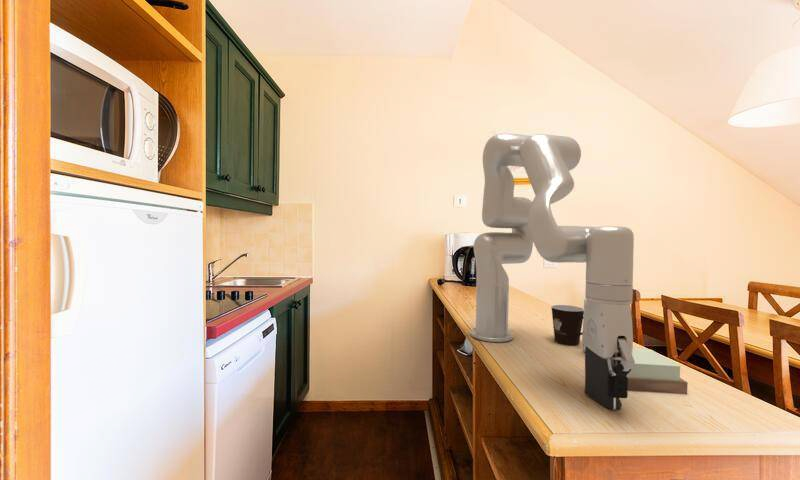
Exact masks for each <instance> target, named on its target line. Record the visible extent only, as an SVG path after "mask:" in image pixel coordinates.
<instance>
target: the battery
mask: <svg viewBox="0 0 800 480" xmlns="http://www.w3.org/2000/svg"><path fill="white" fill-rule="evenodd" d="M612 357H621V355H620V354H618V353H614V354H613V356H612ZM620 363H621V362H620V361H614V366H615V367H616V366H617V364H620ZM607 374H610V372H609V367H608V362H607V359H603V358H601V357H599V356H598V355H597V354H595V353H594V352H593V351H591V350H590V349H589V348H588V347H586V346H585V352H584V394H585V395H587V396H588V397H589V398H591V399H592V400H594V401H596V402H597V403H599V404H600V405H602V406H603V407H606V408H607V409H609V410H616V409H617V410H618V409H621V408H622V407H623V406H622V405H623V404H622V401H621V400H620V399H621V398H610V397H608V396H607Z"/></svg>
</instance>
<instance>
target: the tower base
mask: <svg viewBox="0 0 800 480" xmlns="http://www.w3.org/2000/svg"><path fill="white" fill-rule="evenodd" d="M688 385H689V384H688V382H687V381H686V380H684V379H683V378H681V377H680V381H669V380H654V379H639V378H628V391H629V392H642V393H643V392H645V393H659V394H660V393H661V394H666V393H667V394H678V395H679V394H681V395H688Z"/></svg>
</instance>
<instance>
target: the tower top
mask: <svg viewBox="0 0 800 480" xmlns="http://www.w3.org/2000/svg"><path fill="white" fill-rule="evenodd" d="M632 356H633V358H634V361H635V364H634V365H633V367H632V368H631V371H630V372H629V374H630V375H629V377H628V378H639V379H654V380H669V381H680V378H681V366H680V365H678V364H676V363H675V362H674V361H672V360H670V359H668V358H667V357H665V356H663V355H661V354H660V353H658V352H656V351H655V350H653V349H651V348H649V349H645V348H633V350H632Z"/></svg>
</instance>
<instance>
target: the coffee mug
mask: <svg viewBox="0 0 800 480" xmlns="http://www.w3.org/2000/svg"><path fill="white" fill-rule="evenodd" d="M550 307H551V314H552V315H551V316H552V317H551V319H552V324H553V336H554V342H555V343H557V344H559V345H564V346H570V347H571V346H572V347H573V346H575V347H576V346H579V345H580V340H581V336H582V329H583V318H584V307H580V306H576V305H569V304H568V305H567V304H555V305H554V304H553V305H551V306H550Z"/></svg>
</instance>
